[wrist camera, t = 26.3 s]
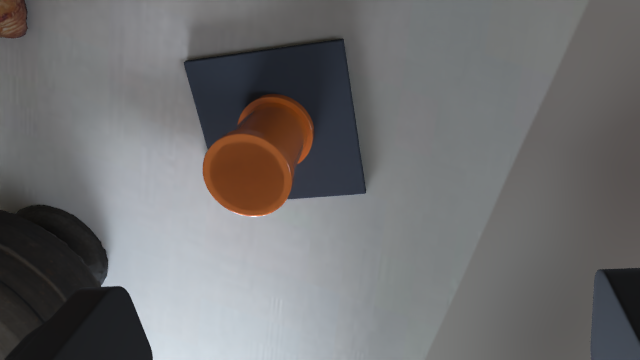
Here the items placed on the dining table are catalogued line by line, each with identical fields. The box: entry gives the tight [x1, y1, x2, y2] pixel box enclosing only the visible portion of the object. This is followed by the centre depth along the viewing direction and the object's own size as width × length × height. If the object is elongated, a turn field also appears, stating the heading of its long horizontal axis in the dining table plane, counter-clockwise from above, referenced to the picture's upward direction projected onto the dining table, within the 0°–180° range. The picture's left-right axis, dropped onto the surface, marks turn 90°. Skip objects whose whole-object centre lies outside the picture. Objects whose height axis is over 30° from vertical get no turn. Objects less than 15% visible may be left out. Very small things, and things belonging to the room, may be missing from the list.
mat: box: [184, 39, 366, 199], centre depth 40 cm, size 12×12×1 cm
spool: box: [203, 94, 314, 216], centre depth 37 cm, size 6×6×8 cm
